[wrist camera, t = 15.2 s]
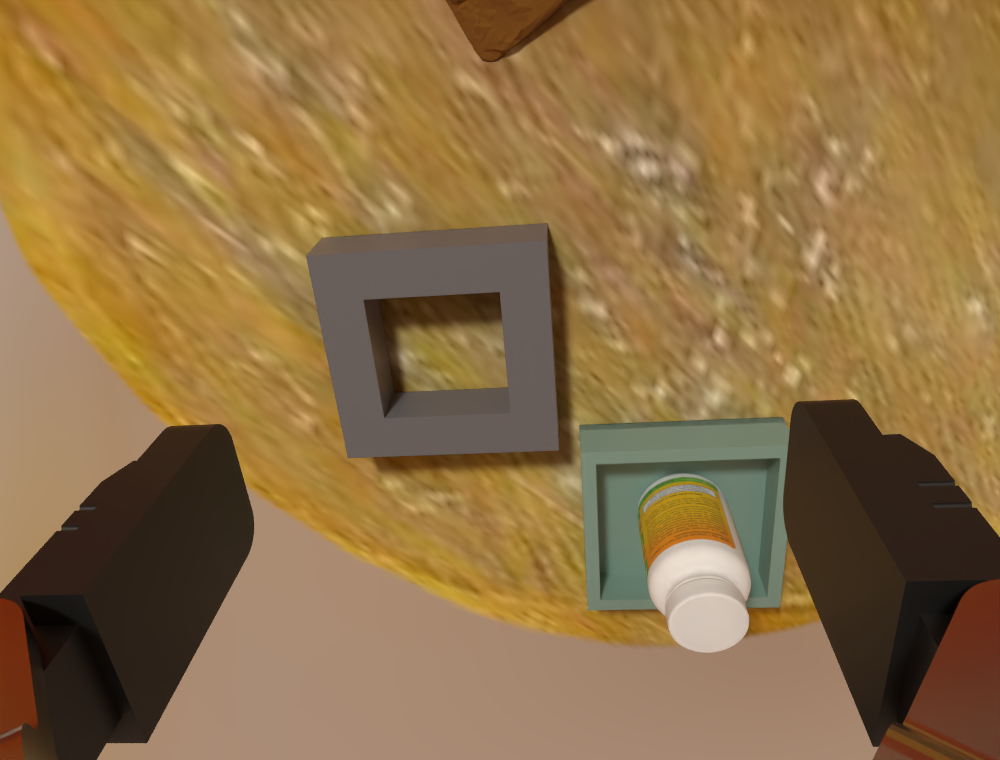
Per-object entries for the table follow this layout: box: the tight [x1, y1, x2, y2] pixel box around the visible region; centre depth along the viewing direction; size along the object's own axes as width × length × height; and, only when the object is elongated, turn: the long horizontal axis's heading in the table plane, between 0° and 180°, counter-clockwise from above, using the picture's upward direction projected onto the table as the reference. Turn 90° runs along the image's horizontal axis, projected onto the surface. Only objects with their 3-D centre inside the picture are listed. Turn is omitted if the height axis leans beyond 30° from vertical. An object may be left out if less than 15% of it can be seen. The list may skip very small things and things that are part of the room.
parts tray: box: [580, 417, 790, 610], centre depth 46 cm, size 12×12×3 cm
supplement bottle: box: [637, 473, 751, 653], centre depth 43 cm, size 5×5×10 cm
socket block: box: [306, 223, 559, 458], centre depth 42 cm, size 12×12×3 cm
